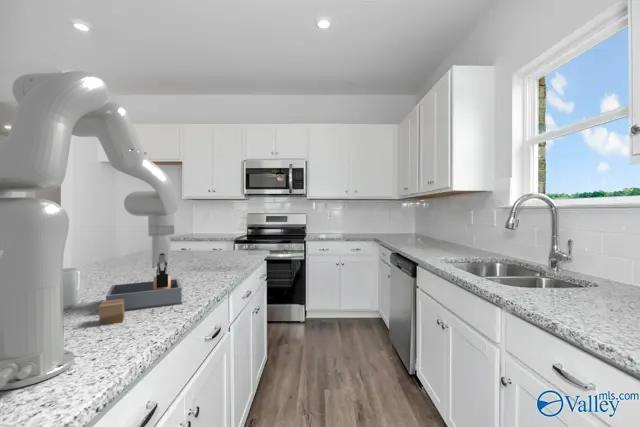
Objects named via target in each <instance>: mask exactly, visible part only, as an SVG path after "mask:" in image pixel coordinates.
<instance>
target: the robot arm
mask: <svg viewBox="0 0 640 427" xmlns="http://www.w3.org/2000/svg"><path fill="white" fill-rule="evenodd" d="M11 90H12V95H13V97H14V99H15V100H16V103H17V107H16V109H15V111H14V115H13V120H12V122H11V123H12V124H11V126H10V131H9V134H8V136H7V138H5V139H3V140H1V139H0V251H2V253H1V255H0V391H7V390H12V389H14V390H15V389H18V388H23V387H26V386H27V387H28V386H31V385H34V384H37V383H41V382H42V381H46V380H48V379H51V378H53V377H55V376H57V375H59V374H61V373H63V372H65V371H66V370H68V369H69V368H70V367H71V366H72V365H74V362H75V354H74V352H72V351H69V350H65V333H64V331H65V327H64V326H65V323H64V322H65V321H64V318H65V317H64V316H65V315H64V309H63V268H64V254H65V253H64V252H65V248H66V243H67V238H68V234H69V230H70V219H69V216H68V213H67V211H66V210H65V208H63V207H62V206H61V205H60V204H58V203H57V202H55V201H53V200H49V199H46V198H42V197H32V196H31V197H29V196H26V197H25V196H23V197H12V194H13V192H20V193H21V192H24V193H25V192H27V193H28V192H32V193H33V192H46V191H52V190H56V189H58V188H59V187H61V185H62V184H63V182H64V180H65V179H66V175H67V168H68V164H69V163H68V162H69V157H70V156H69V155H70V148H71V140H72V136H75V137H79V138H81V137H82V138H84V137H85V138H87V137H89V138H90V137H91V138H94V137H95V138H97V139H98V141H99V143H100V145H101V147H102V149H103V151H104V153H105V155H106V157H107V159H108V161H109V164H110V166H111V167H112V168H113V169H114V170H116V171H118V172H121V173H123V174H126V175H129V176H131V177H132V178H137V179H139V180H141V181H143V182H145V183H146V184H148V185H149V186H151V187H152V188H153V189H154V190H137V191H132V192H130V193H128V194H127V195H126V196H125V198H124V200H123V206H124V209H125V211H126V212H127V213H128V214H130V215H132V216H136V217H148V218H147V223H148V224H147V225H148V228H147V229H148V230H147V232H148V237H151V267H152V269H154V268H155V267H156V268H157V269H156V270H155V271H156V282H157V288H162V287H168V275H169V274H168V267H169V266H170V261H171V237H172V236H175V213H176V212H177V211H178V208H179V200H178V196H177V191H176V189H175V186H174V184H173V181H172V180H171V178H170V177H169V175H168V174H167V173H166V172H165V171H164V170H163V169H162V168H160V167H159V166H158V165H157V164H156V163H154V162H153V161H151V159H149V158H147V156H146V155H145V153H144V150H143V148H142V145H141V143H140V139H139V137H138V135H137V133H136V131H135V126H134V125H133V123H132V122H133V121H132V120H131V118H130V115H129V113H128V111H127V109H126V108H125V107H124V106H123V105H121V104H120V103H117V102H114V101H108V99H109V98H108V97H109V88H108V86H107V84H106V82H105V80H103V79H102V78H101V77H100V76H98V75H96V74H94V73H92V72H88V71H85V70H84V71H83V70H75V71H73V70H71V71H65V72H46V73H45V72H44V73H43V72H41V73H39V72H38V73H37V72H36V73H27V74H23V75H20V76H19V77H17V78H16V79H14V81H13V84H12V89H11Z"/></svg>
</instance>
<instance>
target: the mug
mask: <svg viewBox="0 0 640 427" xmlns="http://www.w3.org/2000/svg"><path fill="white" fill-rule="evenodd" d="M80 272H81V271H80V270H78V268H75V267H63V310H66V309H71V308H73V307H74V306H76V304H77V303H78V301H79V296H78V295H79V293H78V292H79V291H78V290H79V289H80V276H81V275H80V274H81V273H80Z"/></svg>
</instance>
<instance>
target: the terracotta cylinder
mask: <svg viewBox="0 0 640 427" xmlns="http://www.w3.org/2000/svg"><path fill="white" fill-rule="evenodd" d="M152 279H153V290H161V289H170V288H171V279H172V277H171V275H169V274H168V287H162V288H157V282H156V276H153V277H152Z"/></svg>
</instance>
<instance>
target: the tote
mask: <svg viewBox="0 0 640 427" xmlns="http://www.w3.org/2000/svg"><path fill="white" fill-rule="evenodd" d="M182 290H183V289H182V286H181V282H180V279H179V278H173V279H172V278H171V288H170V289H161V290H153V281H152V280H151V281H141V282H130V283H121V284H112V285H111V286H110V288H109V290H108V292H107V294H106V295H105V301H111V300H119V299H124V312H129V311H130V310H131V311H136V310H143V309H144V310H146V309H152V308H160V307H167V306H175V305H182V303H183V302H182V300H183V299H182V296H183V294H182V292H183V291H182Z"/></svg>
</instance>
